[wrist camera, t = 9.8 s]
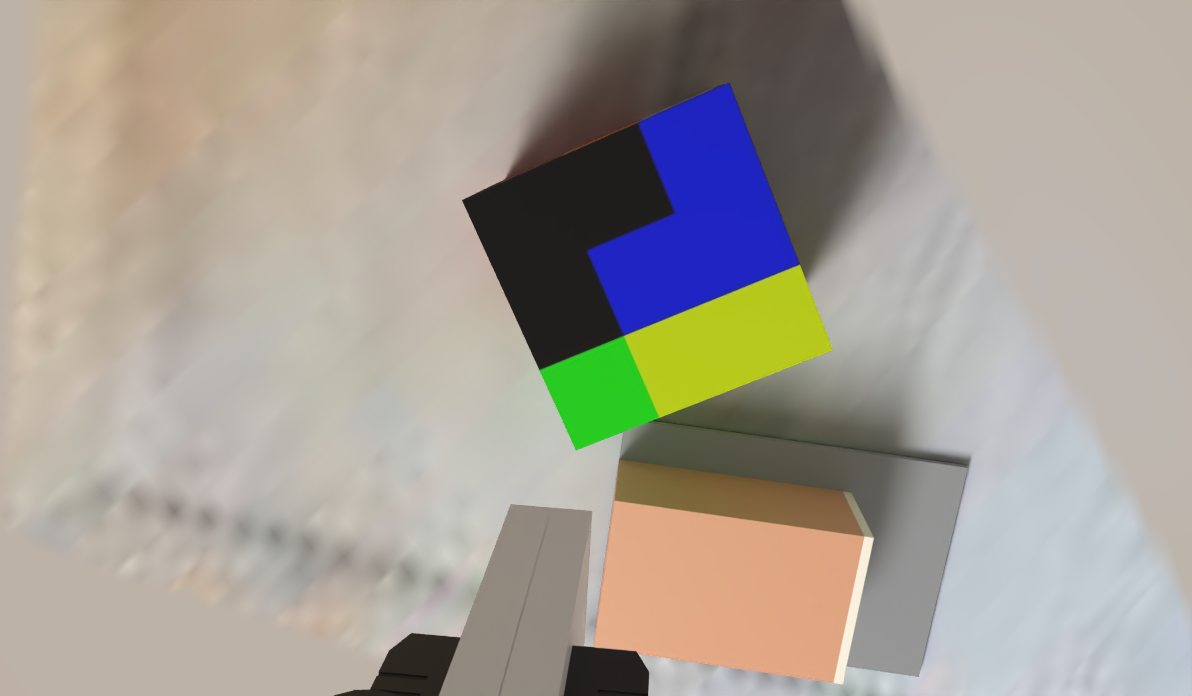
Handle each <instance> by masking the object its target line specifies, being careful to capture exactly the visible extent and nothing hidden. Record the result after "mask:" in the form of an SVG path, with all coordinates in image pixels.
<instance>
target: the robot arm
mask: <svg viewBox="0 0 1192 696" xmlns="http://www.w3.org/2000/svg"><path fill="white" fill-rule="evenodd" d="M591 521H592V511H585V510H572V509H560V508H548V507H536V506H524V505H512V504H511V505H510V508H509V511H508V513H507V516H506V519H505V521H504V524H503V526H502V529H501V532H500V534H499V537H498V540H497V542H496V545H495V548H494V550H493V553H492V556H491V558H490V561H489V564H488V566H487V569H486V572H485V574H484V577H483V580H482V582H481V585H480V588H479V590H478V593H477V596H476V598H475V601H474V604H473V606H472V609H471V611H470V614H469V617H468V619H467V622H466V625H465V627H464V630H463V633H462V635H461V638H459V637H448V636H437V635H426V634H415V633H411V634H410V635H408V636H407V637H406V638H405V639H403V640H402V641H401V642H400V643H398V644H397V645H396V646H394V647H393V648H392V649H391V650H389V652H388V654H387V656H386V658H385V660H384V662H383V664H382V667H381V668H380V670H379V675H378V676H377V677H376V679H375V681H374V683H373V685H372V687H371V689H370V690H353V691H350V692H346V693H342V694H338V695H335V696H648V685H649V671H648V669H647V668H646V666H645V665H644V663H643V661H642V660H641V658H640V656H639V655H638V653H637V651H629V650H618V649H607V648H596V647H585V646H584V639H585V622H586V605H587V589H588V572H589V555H590V538H591Z"/></svg>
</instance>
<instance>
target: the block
mask: <svg viewBox="0 0 1192 696" xmlns="http://www.w3.org/2000/svg"><path fill="white" fill-rule="evenodd" d="M873 540H874V537H873V535H872V533H871V531H870V529H869V527H868V525H867V523H866V521H865V519H864V517H863V515H862V513H861V511H860V509H859V507H858V505H857V503H856V501H855V499H854V497H853V495H852V493H851V492H844V491H837V490H830V489H823V488H816V487H809V486H802V485H795V484H788V483H781V482H774V481H767V480H760V479H753V478H746V477H739V476H732V475H725V474H718V473H711V472H704V471H697V470H690V469H683V468H676V467H669V466H662V465H655V464H648V463H641V462H634V461H627V460H620V459H619V464H618V471H617V478H616V485H615V492H614V499H613V506H612V513H611V520H610V527H609V534H608V541H607V548H606V555H605V562H604V569H603V576H602V583H601V591H600V598H599V607H598V615H597V624H596V632H595V640H594V647H596V648H607V649H618V650H629V651H637V653H638V654H643V655H649V656H656V657H663V658H670V659H676V660H683V661H690V662H697V663H703V664H710V665H717V666H724V667H730V668H737V669H744V670H751V671H757V672H764V673H771V674H778V675H784V676H791V677H798V678H805V679H811V680H818V681H825V682H832V683H838V684H843V680H844V675H845V670H846V666H847V661H848V656H849V652H850V647H851V642H852V638H853V633H854V628H855V624H856V619H857V615H858V610H859V605H860V601H861V596H862V591H863V587H864V582H865V577H866V573H867V568H868V563H869V559H870V554H871V549H872V545H873Z"/></svg>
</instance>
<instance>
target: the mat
mask: <svg viewBox="0 0 1192 696" xmlns="http://www.w3.org/2000/svg"><path fill="white" fill-rule="evenodd" d="M620 460H627V461H634V462H641V463H648V464H655V465H662V466H669V467H676V468H683V469H690V470H697V471H704V472H711V473H718V474H725V475H732V476H739V477H746V478H753V479H760V480H767V481H774V482H781V483H788V484H795V485H802V486H809V487H816V488H823V489H830V490H837V491H844V492H851V493H852V495H853V497H854V499H855V501H856V503H857V505H858V507H859V509H860V511H861V513H862V515H863V517H864V519H865V521H866V523H867V525H868V527H869V529H870V531H871V533H872V535H873V537H874V540H873V545H872V549H871V554H870V559H869V563H868V568H867V573H866V577H865V582H864V587H863V591H862V596H861V601H860V605H859V610H858V615H857V619H856V624H855V628H854V633H853V638H852V642H851V647H850V652H849V656H848V661H847V666H848V667H855V668H862V669H869V670H875V671H882V672H889V673H896V674H903V675H909V676H916V677H919V673H920V669H921V664H922V660H923V656H924V652H925V648H926V643H927V639H928V635H929V631H930V626H931V622H932V618H933V614H934V609H935V605H936V601H937V597H938V592H939V588H940V584H941V580H942V575H943V571H944V567H945V563H946V558H947V554H948V550H949V546H950V541H951V537H952V533H953V529H954V525H955V520H956V516H957V512H958V508H959V503H960V499H961V495H962V491H963V486H964V482H965V478H966V474H967V469H968V468H967V466H966V465H962V464H955V463H948V462H941V461H934V460H927V459H920V458H913V457H906V456H899V455H892V454H884V453H877V452H870V451H863V450H856V449H849V448H842V447H835V446H828V445H821V444H814V443H807V442H799V441H792V440H785V439H778V438H771V437H764V436H757V435H750V434H743V433H736V432H729V431H722V430H714V429H707V428H700V427H693V426H686V425H679V424H672V423H665V422H658V421H650V422H648V423H645V424H642V425H640V426H637V427H635V428H632V429H630V430H627V431H624V432H623V439H622V446H621V453H620ZM596 624H597V622H596Z"/></svg>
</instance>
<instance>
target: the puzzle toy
mask: <svg viewBox="0 0 1192 696" xmlns="http://www.w3.org/2000/svg"><path fill="white" fill-rule="evenodd" d="M462 201H463V203H464V206H465V208H466V210H467V212H468V214H469V217H470V219H471V221H472V223H473V225H474V227H475V230H476V232H477V234H478V236H479V238H480V241H481V243H482V245H483V247H484V249H485V252H486V254H487V256H488V258H489V260H490V263H491V265H492V267H493V269H494V271H495V274H496V276H497V278H498V280H499V282H500V285H501V287H502V289H503V291H504V293H505V295H506V298H507V300H508V302H509V304H510V306H511V309H512V311H513V313H514V315H515V317H516V320H517V322H518V324H519V326H520V328H521V331H522V333H523V335H524V337H525V339H526V342H527V344H528V346H529V348H530V350H531V353H532V355H533V357H534V359H535V361H536V364H537V366H538V368H539V370H540V372H541V374H542V377H543V379H544V381H545V383H546V385H547V388H548V390H549V392H550V394H551V396H552V399H553V401H554V403H555V405H556V407H557V410H558V412H559V414H560V416H561V418H562V421H563V423H564V425H565V427H566V429H567V432H568V434H569V436H570V438H571V440H572V443H573V445H574V447H575V449H576V450H578V449H581V448H583V447H586V446H588V445H591V444H594V443H596V442H599V441H601V440H604V439H606V438H609V437H612V436H614V435H617V434H619V433H622V432H624V431H627V430H630V429H632V428H635V427H637V426H640V425H642V424H645V423H648V422H650V421H653V420H655V419H658V418H660V417H663V416H665V415H668V414H671V413H673V412H676V411H678V410H681V409H683V408H686V407H689V406H691V405H694V404H696V403H699V402H701V401H704V400H707V399H709V398H712V397H714V396H717V395H719V394H722V393H725V392H727V391H730V390H732V389H735V388H737V387H740V386H743V385H745V384H748V383H750V382H753V381H755V380H758V379H761V378H763V377H766V376H768V375H771V374H773V373H776V372H779V371H781V370H784V369H786V368H789V367H791V366H794V365H796V364H799V363H802V362H804V361H807V360H809V359H812V358H814V357H817V356H820V355H822V354H825V353H827V352H830V351H832V350H833V349H832V346H831V343H830V341H829V338H828V336H827V333H826V330H825V328H824V325H823V323H822V320H821V318H820V315H819V312H818V310H817V307H816V305H815V302H814V300H813V297H812V294H811V292H810V289H809V287H808V284H807V282H806V279H805V276H804V274H803V271H802V269H801V266H800V263H799V261H798V258H797V256H796V253H795V251H794V248H793V245H792V243H791V240H790V238H789V235H788V233H787V230H786V227H785V225H784V222H783V220H782V217H781V215H780V212H779V209H778V207H777V204H776V202H775V199H774V197H773V194H772V191H771V189H770V186H769V184H768V181H767V178H766V176H765V173H764V171H763V168H762V166H761V163H760V160H759V158H758V155H757V153H756V150H755V148H754V145H753V142H752V140H751V137H750V135H749V132H748V130H747V127H746V124H745V122H744V119H743V117H742V114H741V111H740V109H739V106H738V104H737V101H736V99H735V96H734V93H733V91H732V88H731V86H730V83H727V84H724V85H721V86H717V87H714V88H712V89H709V90H707V91H705V92H703V93H700V94H698V95H696V96H693V97H691V98H689V99H687V100H684V101H682V102H680V103H678V104H675V105H673V106H671V107H668V108H666V109H664V110H662V111H659V112H657V113H655V114H653V115H650V116H648V117H646V118H643V119H641V120H639V121H637V122H634V123H632V124H630V125H628V126H625V127H623V128H621V129H618V130H616V131H614V132H612V133H609V134H607V135H605V136H602V137H600V138H598V139H596V140H593V141H591V142H589V143H587V144H584V145H582V146H580V147H577V148H575V149H573V150H571V151H568V152H566V153H564V154H562V155H559V156H557V157H555V158H552V159H550V160H548V161H546V162H543V163H541V164H539V165H537V166H534V167H532V168H530V169H527V170H525V171H523V172H521V173H518V174H516V175H514V176H512V177H509V178H507V179H505V180H503V181H501V182H499V183H496V184H494V185H492V186H490V187H488V188H486V189H484V190H482V191H480V192H478V193H476V194H474V195H472V196H470V197H468V198H466V199H463V200H462Z"/></svg>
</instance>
